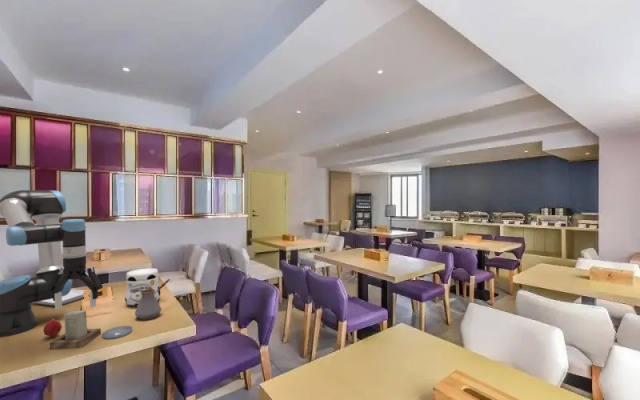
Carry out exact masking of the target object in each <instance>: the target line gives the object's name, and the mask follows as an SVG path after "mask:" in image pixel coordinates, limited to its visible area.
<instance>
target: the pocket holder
mask: <svg viewBox="0 0 640 400" xmlns="http://www.w3.org/2000/svg"><path fill="white" fill-rule="evenodd" d="M101 333H102V330H101V328H87V335H85V336H84V337H82V338H81V339H76V340H66V337H65V333H64V334H62V335H61V336H58V337H56V338H55V339H54V340H52V341H50V342H49V343H48V345H49V350H56V349H57V350H59V349H60V350H62V349H64V350H65V349H79V348H80V349H82V348H83V347H85V346H86V345H88V344H89V343H91V342H92V341H93V340H95V339H96V338H98V337H99V336H100V335H102V334H101Z"/></svg>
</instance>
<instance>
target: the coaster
mask: <svg viewBox="0 0 640 400" xmlns="http://www.w3.org/2000/svg"><path fill="white" fill-rule="evenodd" d="M132 332H133V327H132V326H130V325H120V326H115V327H111V328H108V329H106V330H105V331H103V332H102V334H101V336H102V339H104V340H115V339H120V338H124V337H126V336H128V335H130V334H131V333H132Z"/></svg>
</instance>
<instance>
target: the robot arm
mask: <svg viewBox="0 0 640 400" xmlns="http://www.w3.org/2000/svg"><path fill="white" fill-rule="evenodd" d="M66 211H67V201H66V198H65V196H64V194H63V193H62V192H61V191H59V190H50V189H48V190H47V189H46V190H44V189H43V190H42V189H41V190H39V189H38V190H37V189H35V190H34V189H32V190H30V189H29V190H25V189H24V190H22V189H21V190H15V191H14V190H13V191H12V192H9V193H7V194H5V195H3V196H2V197H1V198H0V215H1V216H2V217H4V219H5V221H6V224H7V225H8V227H7V228H6V230H5V240H6V244H7V245H8V246H11V247H14V246H20V247H21V246H27V245H35V244H36V245H37V251H38V263H39V265H38V266H39V269H38V270H37V271H36V272H35V276H34V277H32V276H31V275H29V274H25V275H18V276H14V277H10V278H5V279H3V280H0V337H6V336H5V335H7V336H12V335H17V334H20V333H23V332H26V331H29V330H31V329H33V328H35V327H36V326H38V319H37V317H36V316H35V314H34V311H33V310H32V304H34V303H33V302H38V301H43V300H48V299H53V301H55V306H54V310H60V309H61V308H63V305H62V296H65V295H67V294H68V293H69V292H70V290H71V289H72V287H73V280H79V281H82V283H83V284H84V285H86V287H87V288H88V289H89V291H91V292H90V295H89V308H90V309H93V308H95V307H97V299H98V298H99V290H101V289H104V288H103V287H104V286H103V284H102V281H101V280H100V278H99V277H98V275H97V273H96V271H95V267H94V266H91V267H87V266H86V265H87V256H86V254H87V245H86V241H87V240H86V220H85V219H83V218H82V219H81V218H73V219H71V218H70V219H69V218H68V219H64V220H62V222H61V223H60V219H61V218H62V217H63V214H64V213H66ZM30 215H31V216H30ZM33 220H35V223H36V224H35V223H34V221H33ZM61 242H62V243H61Z"/></svg>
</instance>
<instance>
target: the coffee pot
mask: <svg viewBox="0 0 640 400" xmlns="http://www.w3.org/2000/svg"><path fill="white" fill-rule="evenodd" d="M169 282H170V283H172V280H171V279H170V278H169V279H167V280H165V282H163V283H162V284H161V285H159V288H158V290H156V291H155V290H154V289H148V290H143V291H141V292H140V293H141V294H142V297H141V300H140V302H139V304H138V306H136V309H135V312H134V315H135V317H136V318H137V319H139V320H141V321H142V320H151V319H154V318H156V317H157V316H158V315H159V314H160V312H161V311H162V308H161V305H160V304H159V302H158V300H156V298H155V296H154V295H155V294H156V293H157V292H158V291H159V290H160V291H161V290H162V288H164V286H166V284H168V283H169Z"/></svg>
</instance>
